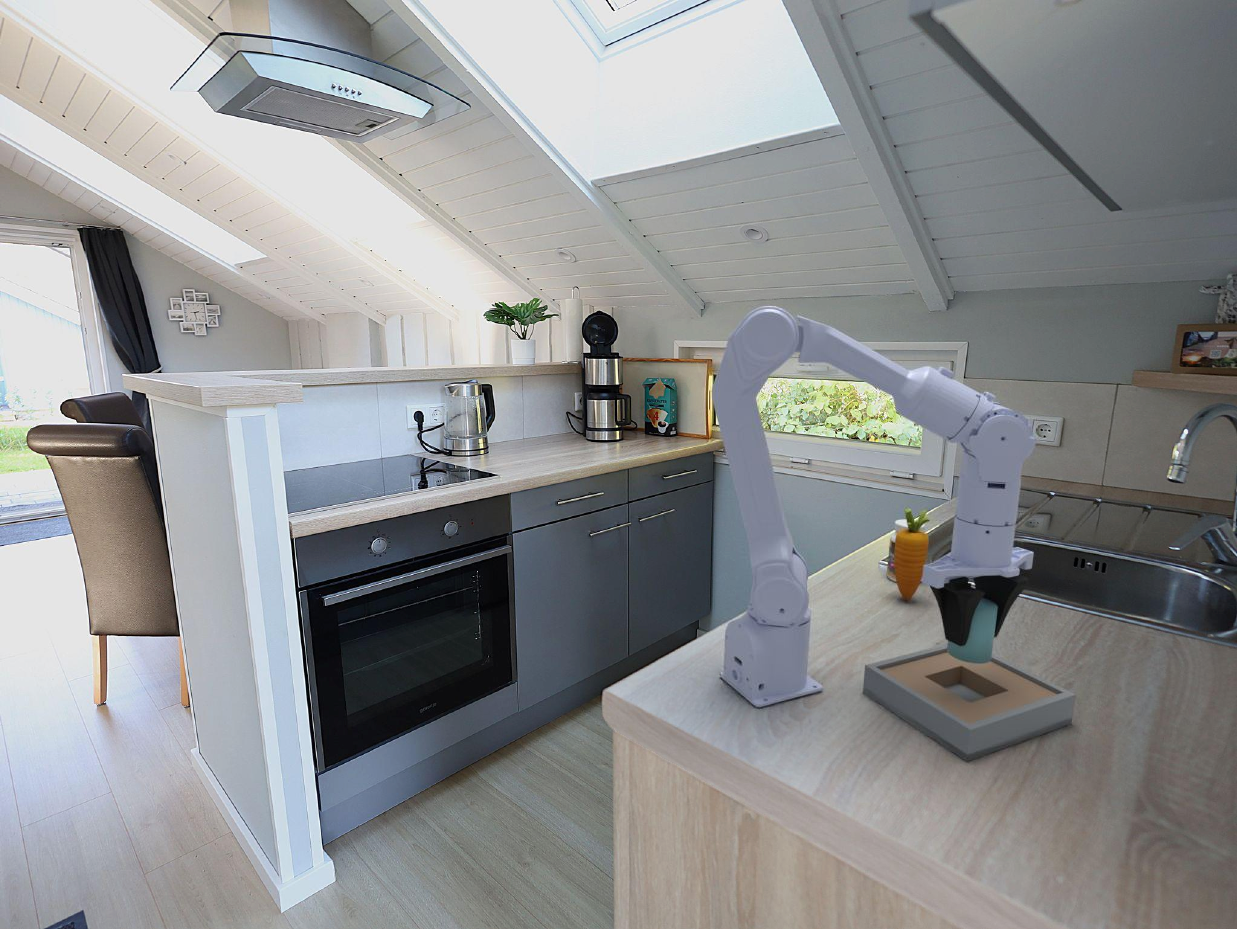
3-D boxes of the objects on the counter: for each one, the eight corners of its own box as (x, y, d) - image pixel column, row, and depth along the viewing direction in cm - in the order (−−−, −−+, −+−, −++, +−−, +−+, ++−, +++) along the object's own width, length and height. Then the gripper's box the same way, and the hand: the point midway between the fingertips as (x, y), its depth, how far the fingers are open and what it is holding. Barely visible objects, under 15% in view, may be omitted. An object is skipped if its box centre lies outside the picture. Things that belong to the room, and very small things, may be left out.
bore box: (966, 761, 66) (970, 729, 66) (862, 692, 79) (865, 665, 78) (1071, 723, 73) (1075, 694, 72) (959, 665, 85) (962, 639, 85)
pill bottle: (879, 574, 116) (884, 519, 114) (908, 572, 118) (913, 517, 116) (900, 586, 111) (905, 529, 109) (930, 583, 112) (936, 526, 110)
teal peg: (970, 666, 72) (977, 614, 71) (937, 648, 76) (943, 598, 75) (1000, 659, 73) (1007, 607, 72) (966, 642, 77) (972, 592, 76)
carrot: (917, 595, 108) (926, 504, 105) (928, 607, 103) (937, 512, 100) (885, 594, 108) (893, 503, 105) (894, 606, 103) (903, 511, 100)
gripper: (969, 538, 65) (955, 667, 68) (1067, 520, 71) (1050, 640, 73) (911, 519, 71) (900, 638, 74) (1005, 504, 77) (991, 615, 80)
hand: (971, 637), depth 74 cm, fingers closed on teal peg, 4 cm apart
